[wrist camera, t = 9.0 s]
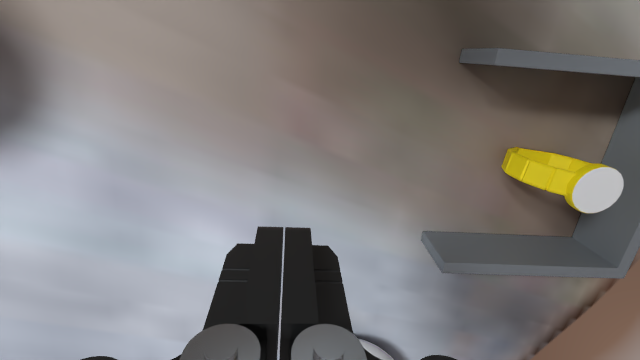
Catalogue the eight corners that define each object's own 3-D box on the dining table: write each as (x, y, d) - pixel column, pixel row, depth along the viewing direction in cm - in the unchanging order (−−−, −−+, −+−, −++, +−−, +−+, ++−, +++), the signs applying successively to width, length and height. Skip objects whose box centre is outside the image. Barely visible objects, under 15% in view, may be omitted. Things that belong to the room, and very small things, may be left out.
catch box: (462, 48, 20) (498, 48, 17) (652, 65, 21) (727, 67, 18) (421, 240, 25) (442, 273, 21) (577, 246, 26) (623, 278, 22)
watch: (483, 170, 24) (532, 205, 18) (496, 133, 23) (552, 157, 17) (563, 183, 24) (635, 221, 18) (579, 146, 23) (661, 175, 17)
